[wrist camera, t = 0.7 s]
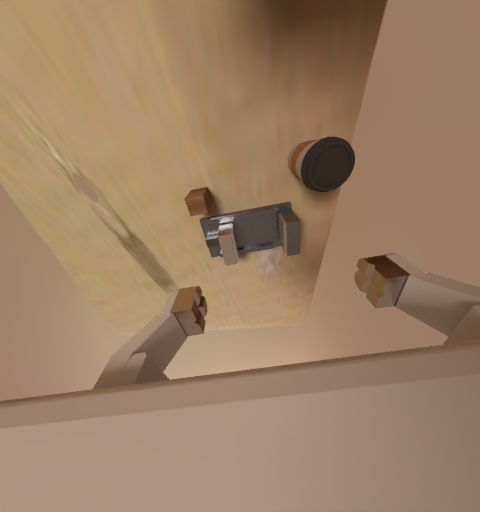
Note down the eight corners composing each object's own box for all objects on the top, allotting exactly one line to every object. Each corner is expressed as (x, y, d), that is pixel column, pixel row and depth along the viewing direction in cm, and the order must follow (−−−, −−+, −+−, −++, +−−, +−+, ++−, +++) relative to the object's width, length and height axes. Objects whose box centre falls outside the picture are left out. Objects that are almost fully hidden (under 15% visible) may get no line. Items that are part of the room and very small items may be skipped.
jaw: (203, 226, 47) (198, 239, 41) (232, 221, 47) (232, 233, 40) (211, 252, 52) (208, 268, 46) (238, 248, 51) (239, 263, 45)
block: (191, 190, 44) (184, 198, 37) (207, 187, 43) (202, 195, 37) (196, 205, 46) (190, 216, 40) (211, 202, 46) (208, 213, 39)
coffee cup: (294, 185, 44) (318, 204, 31) (276, 156, 40) (295, 163, 28) (325, 161, 41) (365, 171, 29) (309, 127, 37) (347, 121, 25)
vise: (200, 218, 48) (194, 233, 40) (289, 201, 46) (300, 214, 38) (212, 254, 54) (208, 273, 47) (290, 241, 53) (299, 258, 45)
